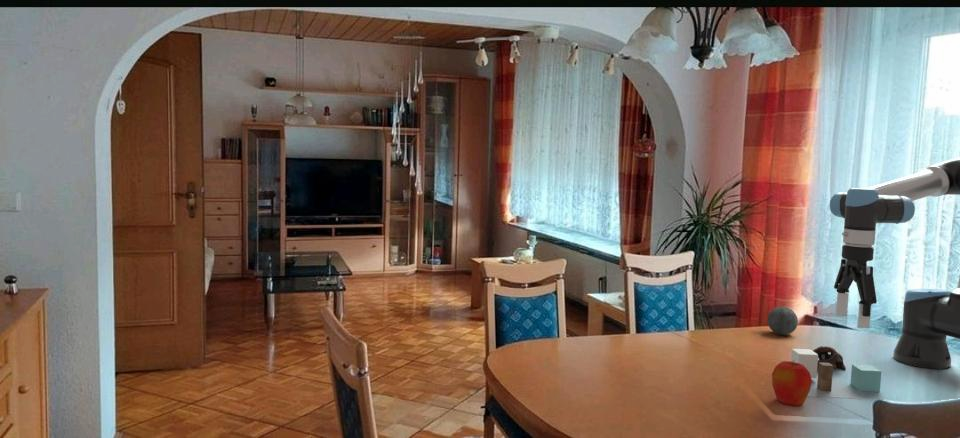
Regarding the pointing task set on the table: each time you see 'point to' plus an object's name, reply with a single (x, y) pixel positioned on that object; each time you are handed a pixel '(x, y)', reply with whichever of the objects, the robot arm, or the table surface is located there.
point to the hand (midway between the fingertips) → (851, 321)
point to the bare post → (825, 376)
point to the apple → (791, 383)
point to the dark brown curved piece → (829, 357)
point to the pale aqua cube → (865, 378)
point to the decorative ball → (782, 320)
